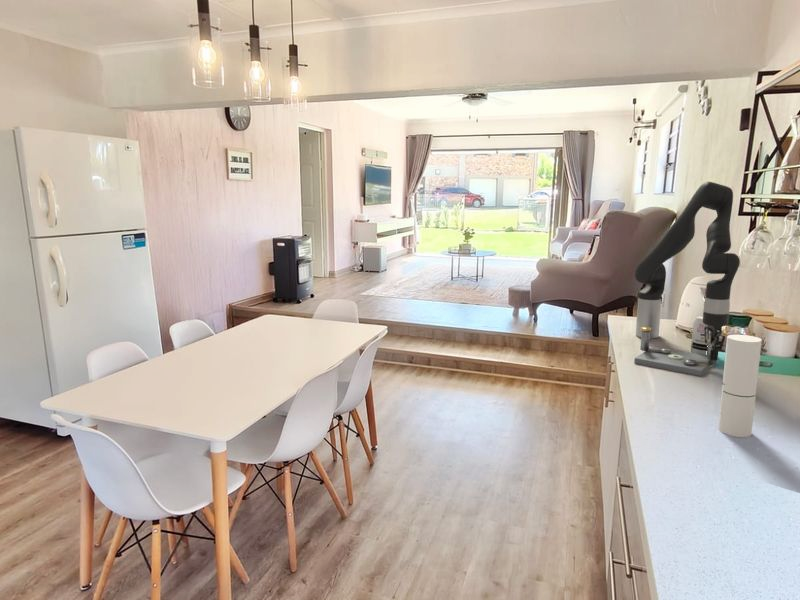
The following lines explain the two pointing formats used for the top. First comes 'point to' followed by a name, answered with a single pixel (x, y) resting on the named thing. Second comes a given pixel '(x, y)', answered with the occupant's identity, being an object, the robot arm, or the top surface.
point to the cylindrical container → (739, 385)
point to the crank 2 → (694, 362)
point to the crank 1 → (645, 342)
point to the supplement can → (698, 336)
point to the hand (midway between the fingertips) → (711, 358)
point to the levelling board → (673, 361)
